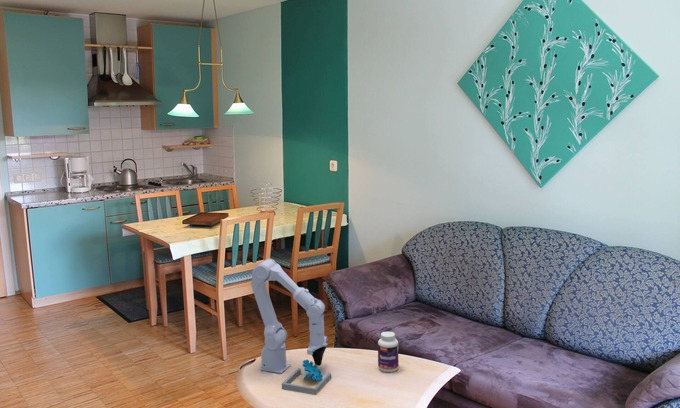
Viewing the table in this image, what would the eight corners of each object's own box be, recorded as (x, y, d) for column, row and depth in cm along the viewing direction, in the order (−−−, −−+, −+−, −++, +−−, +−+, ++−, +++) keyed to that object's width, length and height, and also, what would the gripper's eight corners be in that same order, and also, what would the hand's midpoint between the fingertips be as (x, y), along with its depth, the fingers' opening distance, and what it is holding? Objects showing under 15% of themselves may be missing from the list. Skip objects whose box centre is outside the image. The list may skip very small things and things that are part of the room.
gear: (320, 382, 221) (301, 362, 222) (309, 393, 222) (291, 372, 223) (327, 373, 231) (310, 354, 233) (317, 383, 232) (299, 364, 234)
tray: (281, 388, 221) (281, 383, 220) (298, 372, 233) (298, 368, 233) (316, 394, 215) (315, 389, 215) (331, 378, 228) (331, 373, 228)
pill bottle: (377, 372, 231) (376, 337, 229) (378, 364, 239) (378, 330, 237) (398, 373, 230) (397, 338, 228) (399, 364, 238) (398, 330, 236)
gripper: (318, 340, 223) (319, 374, 225) (333, 326, 236) (334, 359, 238) (301, 337, 226) (303, 371, 228) (317, 324, 239) (318, 356, 241)
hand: (318, 365), depth 233 cm, fingers closed
